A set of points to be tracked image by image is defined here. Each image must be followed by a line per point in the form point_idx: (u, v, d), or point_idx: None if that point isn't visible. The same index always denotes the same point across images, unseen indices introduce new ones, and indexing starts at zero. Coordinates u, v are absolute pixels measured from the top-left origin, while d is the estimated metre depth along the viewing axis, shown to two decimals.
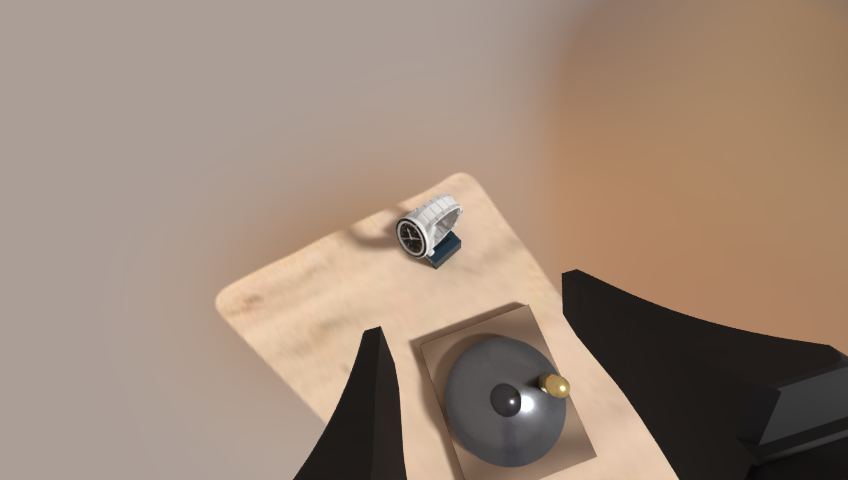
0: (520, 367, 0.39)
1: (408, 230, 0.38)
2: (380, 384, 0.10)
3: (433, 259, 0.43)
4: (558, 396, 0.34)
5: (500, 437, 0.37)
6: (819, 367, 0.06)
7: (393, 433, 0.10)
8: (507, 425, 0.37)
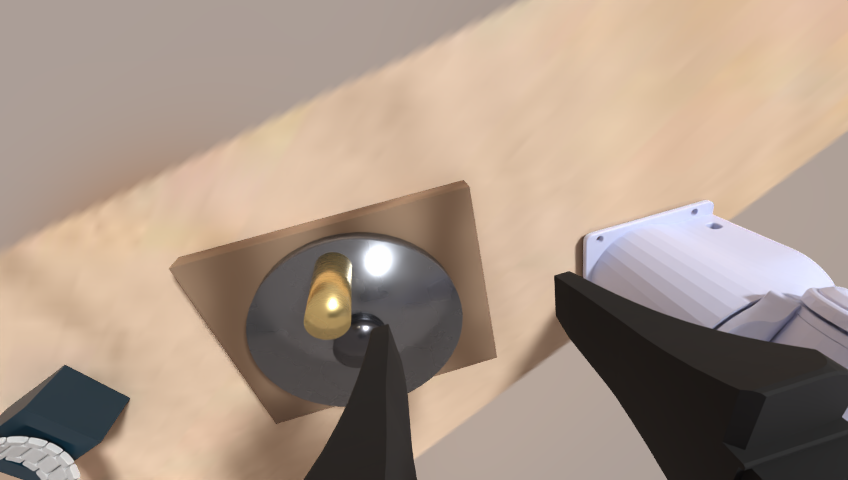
0: (303, 309, 0.20)
1: None
2: (390, 381, 0.10)
3: (91, 444, 0.21)
4: (347, 324, 0.15)
5: (418, 341, 0.23)
6: (804, 372, 0.06)
7: (403, 430, 0.10)
8: (402, 331, 0.22)
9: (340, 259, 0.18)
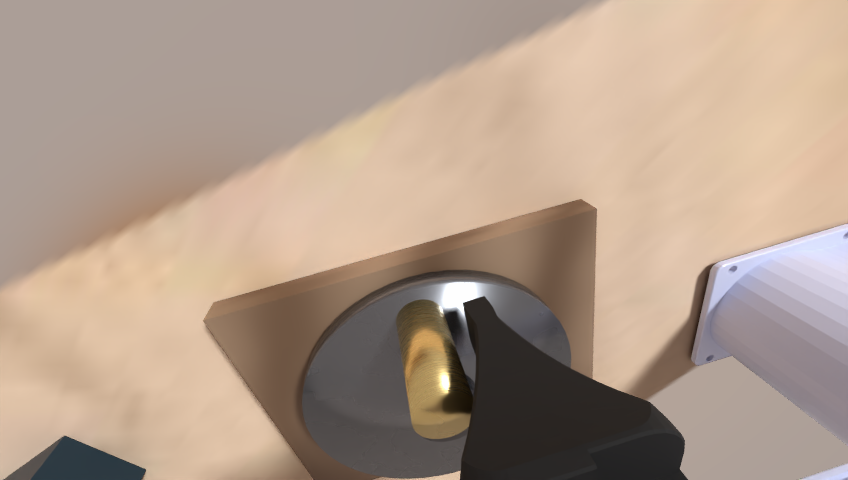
0: (377, 371, 0.15)
1: None
2: None
3: None
4: None
5: None
6: (623, 430, 0.06)
7: None
8: None
9: (435, 310, 0.13)
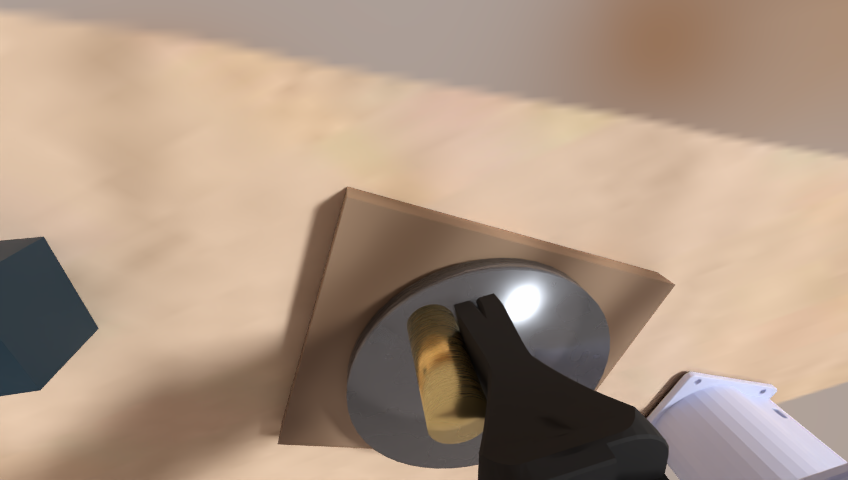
0: (409, 379, 0.16)
1: None
2: None
3: (17, 388, 0.12)
4: None
5: None
6: (605, 434, 0.06)
7: None
8: None
9: (438, 314, 0.13)
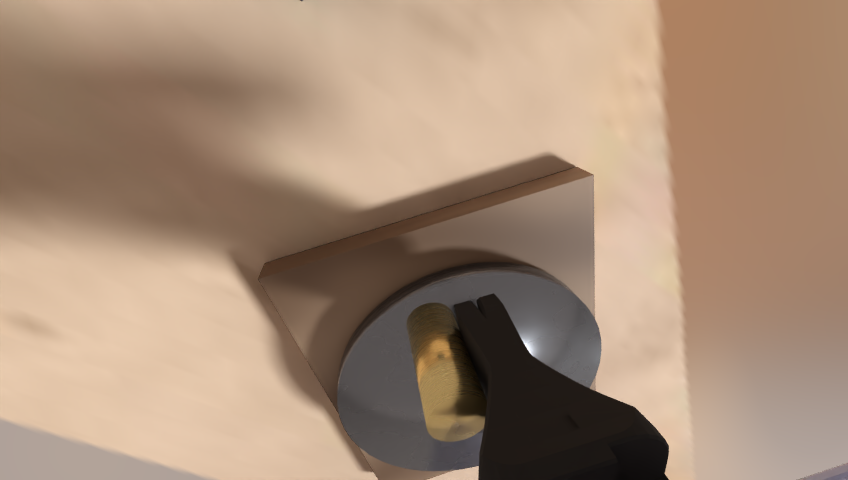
0: (402, 377, 0.16)
1: None
2: None
3: None
4: None
5: None
6: (605, 435, 0.06)
7: None
8: None
9: (440, 312, 0.14)
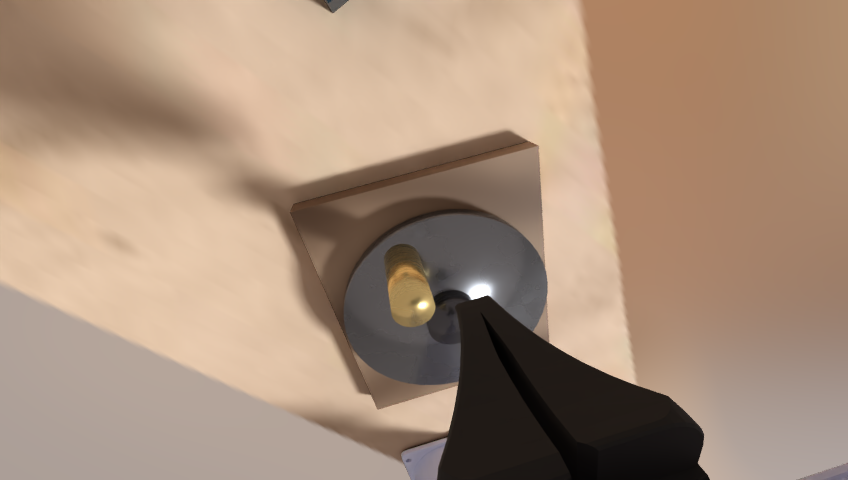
0: (390, 305, 0.21)
1: None
2: None
3: None
4: (432, 306, 0.16)
5: (508, 300, 0.22)
6: (643, 423, 0.06)
7: None
8: None
9: (404, 249, 0.19)
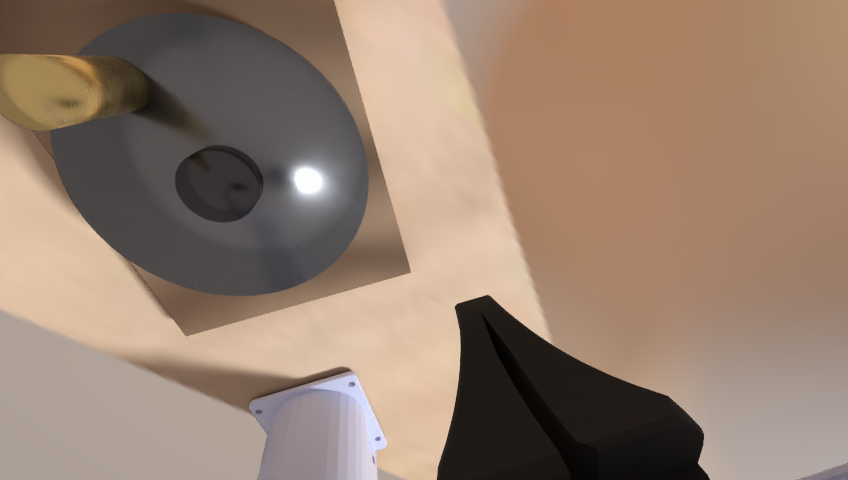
0: (129, 164, 0.15)
1: None
2: None
3: None
4: (60, 91, 0.10)
5: (310, 169, 0.17)
6: (643, 423, 0.06)
7: None
8: (279, 159, 0.16)
9: (103, 56, 0.13)
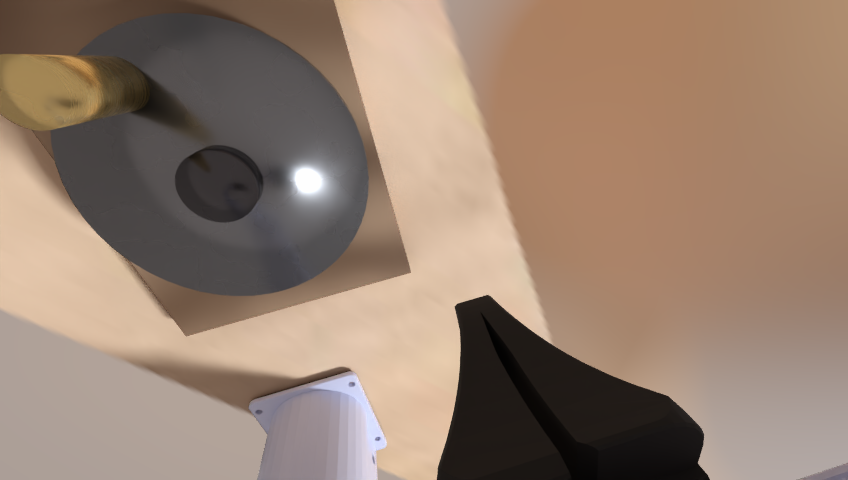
0: (129, 164, 0.15)
1: None
2: None
3: None
4: (60, 91, 0.10)
5: (310, 169, 0.17)
6: (643, 423, 0.06)
7: None
8: (279, 159, 0.16)
9: (103, 56, 0.13)
